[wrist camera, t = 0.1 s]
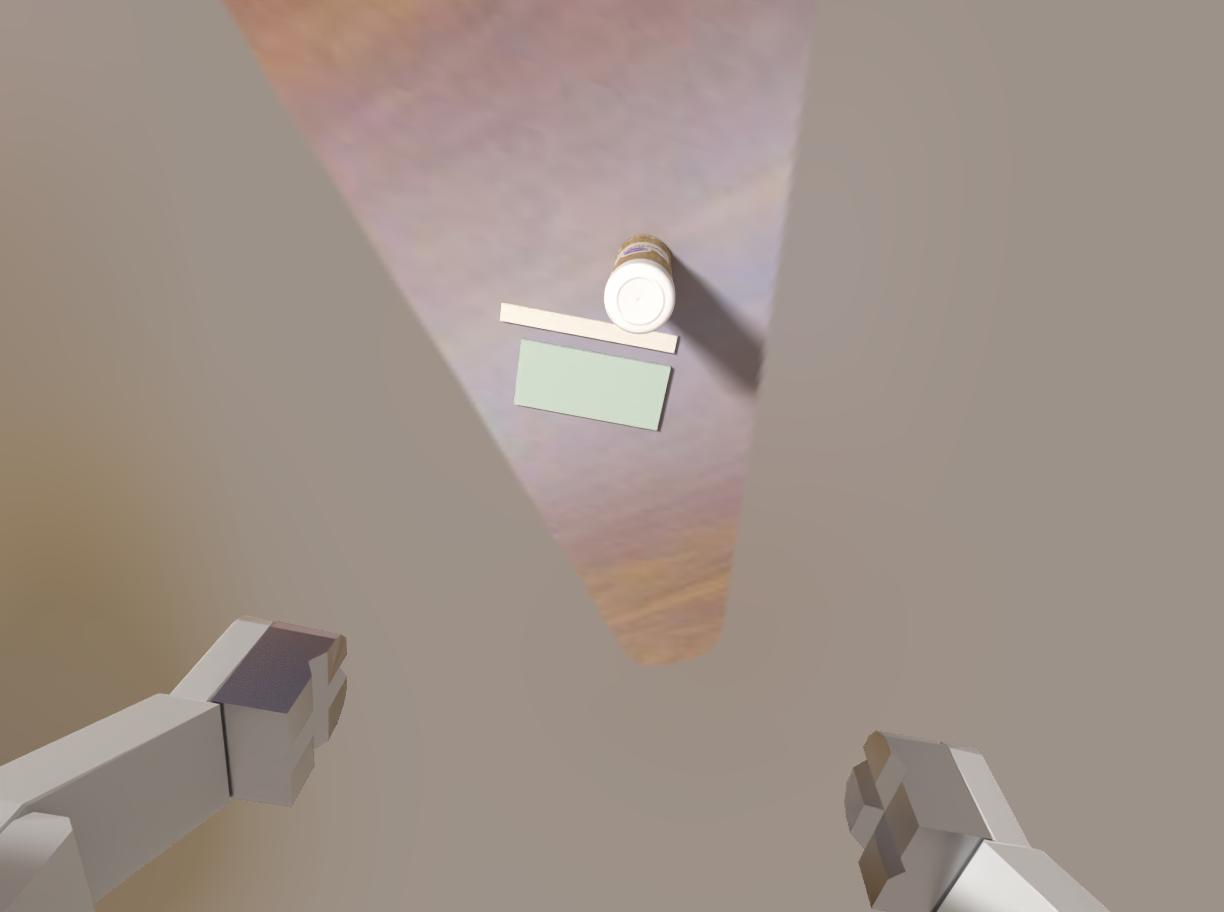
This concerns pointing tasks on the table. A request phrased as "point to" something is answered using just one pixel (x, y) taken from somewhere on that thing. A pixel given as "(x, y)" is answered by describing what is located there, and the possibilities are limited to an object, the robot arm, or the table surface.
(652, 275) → the sprinkles bottle
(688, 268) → the table surface
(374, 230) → the table surface
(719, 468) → the table surface
